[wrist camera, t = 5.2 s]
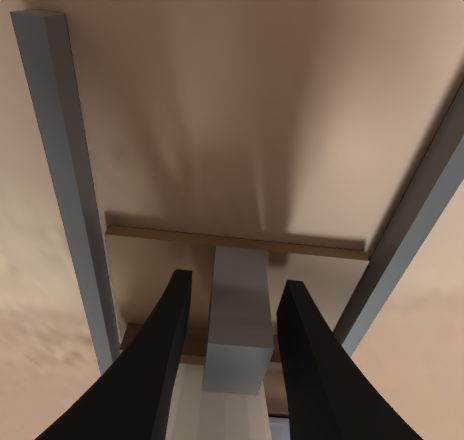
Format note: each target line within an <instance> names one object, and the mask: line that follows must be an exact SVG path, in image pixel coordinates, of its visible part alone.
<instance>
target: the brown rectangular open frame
mask: <svg viewBox="0 0 464 440" xmlns="http://www.w3.org/2000/svg"><path fill="white" fill-rule="evenodd" d="M105 240H106V247H107V253H108V260H109V266H110V272H111V279H112V285H113V291H114V298H115V304H116V311H117V317H118V323H119V330H120V336H121V342H122V343H121V346H120V349H119V351H120V354H121V353H122V352H123V350H124V349H125V348H126V347H127V345H128V344H129V343H130V342H131V340H132V339H133V338H134V336H135V335H136V334H137V332H138V331H139V329H140V328H141V327H142V325H143V324H144V322H145V321H146V320H147V318H148V317H149V315H150V314H151V312H152V311H153V309H154V307H155V306H156V304H157V303H158V301H159V299H160V298H161V296H162V294H163V292H164V291H165V289H166V287H167V285H168V283H169V281H170V279H171V277H172V274H173V272H174V270H176V269H181V270H192V271H193V273H192V288H191V304H190V312H189V319H188V326H187V332H186V337H185V341H184V345H183V349H182V354H181V358H180V362H179V364H192V365H204V371H203V382H202V391H205V392H218V393H232V394H245V395H258V393H259V390H260V387H261V384H262V381H263V385H264V391H265V398H266V405H267V411H268V413H276V414H288V403H287V395H286V389H285V382H284V376H283V370H282V364H281V358H280V351H279V345H278V338H277V316H276V312H277V309H278V306H279V303H280V300H281V297H282V294H283V290H284V287H285V284H286V281H287V280H296V281H303V283H304V284H305V286H306V288H307V290H308V291H309V293H310V295H311V297H312V299H313V300H314V302H315V304H316V306H317V307H318V309H319V311H320V313H321V314H322V316H323V318H324V319H325V321H326V322H327V324H328V326H329V327H330V329H331V330H332V332H333V330H334V328H335V326H336V324H337V322H338V320H339V319H340V317H341V315H342V313H343V311H344V309H345V307H346V305H347V303H348V301H349V299H350V298H351V296H352V294H353V292H354V290H355V288H356V286H357V284H358V282H359V280H360V279H361V277H362V275H363V273H364V271H365V269H366V267H367V265H368V263H369V259H368V257H367V254H366V252H365V251H355V250H346V249H336V248H326V247H316V246H307V245H297V244H287V243H277V242H268V241H258V240H248V239H238V238H229V237H219V236H209V235H199V234H190V233H180V232H170V231H160V230H151V229H141V228H131V227H121V226H112V225H109V227H108V229H107V231H106V233H105Z"/></svg>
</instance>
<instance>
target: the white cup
mask: <svg viewBox="0 0 464 440" xmlns="http://www.w3.org/2000/svg"><path fill="white" fill-rule="evenodd" d="M203 371H204V365H192V364H179V366H178V371H177V375H176V379H175V383H174V388H173V393H172V398H171V404H170V411H169V418H168V424H167V431H166V438H165V440H272V437H271V431H270V424H269V418H268V411H267V405H266V398H265V391H264V385H263V381H262V384H261V387H260V390H259V393H258V395H245V394H232V393H218V392H205V391H202V382H203Z"/></svg>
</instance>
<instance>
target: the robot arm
mask: <svg viewBox="0 0 464 440" xmlns="http://www.w3.org/2000/svg"><path fill="white" fill-rule="evenodd" d="M192 273H193V271H192V270H181V269H176V270H174V272H173V274H172V277H171V279H170V281H169V283H168V285H167V287H166V289H165V291H164V292H163V294H162V296H161V298H160V299H159V301H158V303H157V304H156V306H155V307H154V309H153V311H152V312H151V314H150V315H149V317H148V318H147V320H146V321H145V322H144V324H143V325H142V327H141V328H140V329H139V331H138V332H137V334H136V335H135V336H134V338H133V339H132V340H131V342H130V343H129V344H128V345H127V347H126V348H125V349H124V350H123V352H122V353H121V354H120V355H119V356H118V358H117V359H116V360H115V361H114V362H113V363H112V364H111V366H110V367H109V368H108V369H107V370H106V371H105V372H104V373H103V375H102V376H101V377H100V378H99V379H98V380H97V381H96V382H95V383H94V384H93V385H92V386H91V387H90V388H89V389H88V390H87V391H86V392H85V393H84V394H83V395H82V396H81V397H80V398H79V399H78V400H77V401H76V402H75V403H74V404H73V405H72V406H71V407H70V408H69V409H68V410H67V411H66V412H65V413H64V414H63V415H62V416H61V417H59V418H58V419H57V420H56V421H55V422H54V423H53V424H52V425H50V426H49V427H48V428H47V429H46V430H45V431H44V432H43V433H41V434H40V435H39V436H38V437H37V438H36V439H35V440H165V438H166V431H167V424H168V418H169V411H170V404H171V398H172V393H173V388H174V383H175V379H176V375H177V371H178V366H179V362H180V358H181V354H182V349H183V345H184V341H185V337H186V332H187V326H188V319H189V312H190V304H191V288H192ZM276 316H277V338H278V345H279V351H280V358H281V364H282V370H283V376H284V382H285V389H286V395H287V403H288V414H289V419H288V418H274V417H268V418H269V424H270V431H271V437H272V440H423V439H422V438H421V437H420V436H419V435H418V434H417V433H416V432H415V431H414V430H413V429H412V428H411V427H410V426H409V425H408V424H407V423H406V422H405V421H404V420H403V419H402V418H401V417H400V416H399V415H398V414H397V412H396V411H395V410H394V409H393V408H392V407H391V406H390V405H389V404H388V403H387V402H386V401H385V400H384V398H383V397H382V396H381V395H380V394H379V393H378V392H377V391H376V389H375V388H374V387H373V386H372V385H371V383H370V382H369V381H368V380H367V379H366V377H365V376H364V375H363V374H362V372H361V371H360V370H359V369H358V367H357V366H356V365H355V363H354V362H353V361H352V359H351V358H350V357H349V355H348V354H347V352H346V351H345V350H344V348H343V347H342V345H341V344H340V343H339V341H338V340H337V338H336V337H335V335H334V334H333V332H332V330H331V329H330V327H329V326H328V324H327V322H326V321H325V319H324V318H323V316H322V314H321V313H320V311H319V309H318V307H317V306H316V304H315V302H314V300H313V299H312V297H311V295H310V293H309V291H308V290H307V288H306V286H305V284H304V283H303V281H296V280H287V281H286V284H285V287H284V290H283V294H282V297H281V300H280V303H279V306H278V309H277V312H276Z"/></svg>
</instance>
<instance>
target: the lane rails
mask: <svg viewBox="0 0 464 440" xmlns="http://www.w3.org/2000/svg"><path fill="white" fill-rule="evenodd" d="M10 15H11V19H12V23H13V27H14V31H15V35H16V39H17V43H18V46H19V50H20V54H21V58H22V62H23V66H24V70H25V74H26V78H27V82H28V86H29V90H30V94H31V98H32V102H33V106H34V110H35V114H36V118H37V122H38V126H39V130H40V134H41V138H42V142H43V146H44V150H45V154H46V158H47V162H48V166H49V170H50V174H51V178H52V182H53V186H54V190H55V194H56V198H57V202H58V206H59V209H60V213H61V217H62V221H63V225H64V229H65V233H66V237H67V241H68V245H69V249H70V253H71V257H72V261H73V265H74V269H75V273H76V277H77V281H78V285H79V289H80V293H81V297H82V301H83V305H84V309H85V313H86V317H87V321H88V325H89V329H90V333H91V337H92V341H93V345H94V349H95V353H96V357H97V361H98V365H99V368H100V372H101V376H102V375H103V373H104V372H105V371H106V370H107V369H108V368H109V367H110V366H111V364H112V363H113V362H114V361H115V360H116V359H117V358H118V356H119V355H120V351H119V349H120V345H119V338H118V332H117V326H116V320H115V314H114V308H113V302H112V296H111V290H110V284H109V278H108V272H107V266H106V259H105V253H104V247H103V241H102V235H101V229H100V223H99V217H98V211H97V205H96V199H95V193H94V186H93V180H92V174H91V168H90V162H89V156H88V150H87V144H86V138H85V132H84V126H83V120H82V114H81V107H80V101H79V95H78V89H77V83H76V77H75V71H74V65H73V59H72V53H71V47H70V41H69V34H68V28H67V22H66V16H65V13H59V12H52V11H45V10H38V9H32V10H23V11H14V12H10ZM463 179H464V82H463V84H462V86H461V87H460V89H459V91H458V93H457V95H456V97H455V99H454V101H453V103H452V105H451V107H450V108H449V110H448V112H447V114H446V116H445V118H444V120H443V122H442V124H441V126H440V127H439V129H438V131H437V133H436V135H435V137H434V139H433V141H432V143H431V145H430V147H429V148H428V150H427V152H426V154H425V156H424V158H423V160H422V162H421V164H420V166H419V167H418V169H417V171H416V173H415V175H414V177H413V179H412V181H411V183H410V185H409V187H408V188H407V190H406V192H405V194H404V196H403V198H402V200H401V202H400V204H399V206H398V207H397V209H396V211H395V213H394V215H393V217H392V219H391V221H390V223H389V225H388V227H387V228H386V230H385V232H384V234H383V236H382V238H381V240H380V242H379V244H378V246H377V247H376V249H375V251H374V253H373V255H372V257H371V259H370V261H369V263H368V265H367V267H366V269H365V271H364V273H363V275H362V277H361V279H360V280H359V282H358V284H357V286H356V288H355V290H354V292H353V294H352V296H351V298H350V299H349V301H348V303H347V305H346V307H345V309H344V311H343V313H342V315H341V317H340V319H339V320H338V322H337V324H336V326H335V328H334V330H333V334H334V335H335V337H336V338H337V340H338V341H339V343H340V344H341V345H342V347H343V348H344V350H345V351H346V352H347V354H348V355H349V357H351V355H352V354H353V352H354V351H355V349H356V348H357V346H358V344H359V343H360V341H361V340H362V338H363V336H364V335H365V333H366V332H367V330H368V329H369V327H370V325H371V324H372V322H373V321H374V319H375V318H376V316H377V314H378V313H379V311H380V310H381V308H382V307H383V305H384V303H385V302H386V300H387V299H388V297H389V296H390V294H391V292H392V291H393V289H394V288H395V286H396V285H397V283H398V281H399V280H400V278H401V277H402V275H403V274H404V272H405V270H406V269H407V267H408V266H409V264H410V262H411V261H412V259H413V258H414V256H415V255H416V253H417V251H418V250H419V248H420V247H421V245H422V244H423V242H424V240H425V239H426V237H427V236H428V234H429V233H430V231H431V229H432V228H433V226H434V225H435V223H436V222H437V220H438V218H439V217H440V215H441V214H442V212H443V211H444V209H445V207H446V206H447V204H448V203H449V201H450V199H451V198H452V196H453V195H454V193H455V192H456V190H457V188H458V187H459V185H460V184H461V182H462V181H463Z"/></svg>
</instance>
